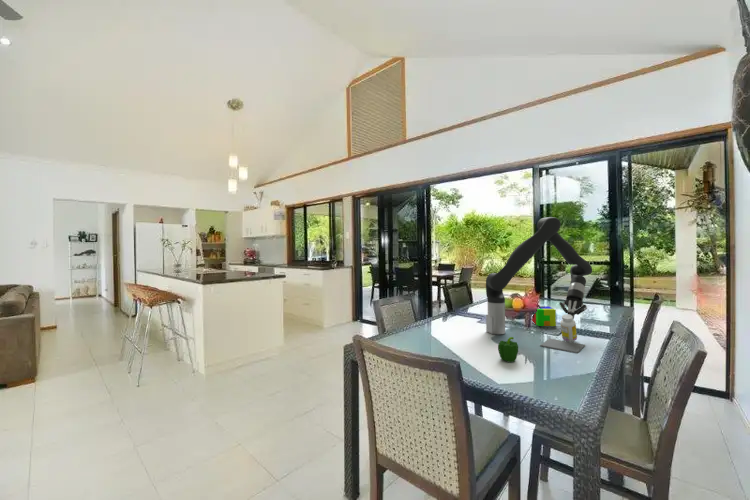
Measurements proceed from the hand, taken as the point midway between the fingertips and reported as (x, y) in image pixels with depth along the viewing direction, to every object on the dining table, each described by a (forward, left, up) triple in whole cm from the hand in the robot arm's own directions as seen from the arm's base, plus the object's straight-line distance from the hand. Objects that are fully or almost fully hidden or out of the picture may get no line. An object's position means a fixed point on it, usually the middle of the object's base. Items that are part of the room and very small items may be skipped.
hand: (569, 319), depth 171 cm
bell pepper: (-45, -17, -11) cm, 50 cm away
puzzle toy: (+9, +31, -11) cm, 34 cm away
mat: (-10, -7, -11) cm, 16 cm away
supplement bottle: (0, 0, -10) cm, 10 cm away
